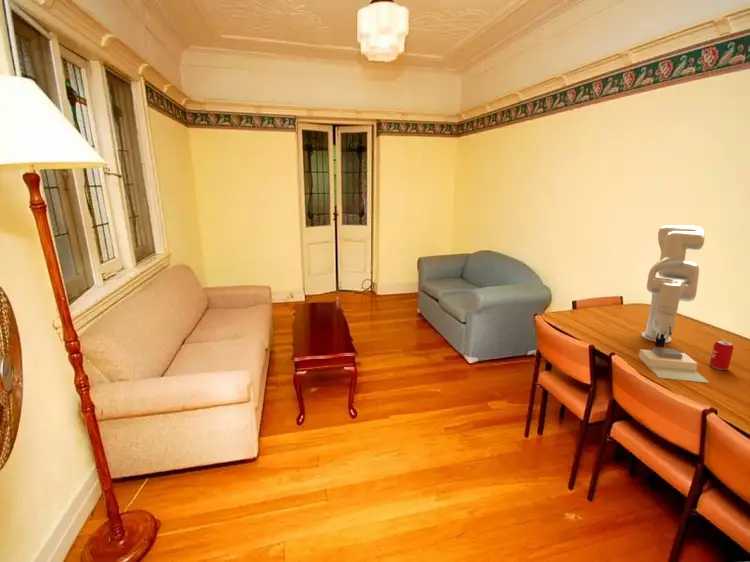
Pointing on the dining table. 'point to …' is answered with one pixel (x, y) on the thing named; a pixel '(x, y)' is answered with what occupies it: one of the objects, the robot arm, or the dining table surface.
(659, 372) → the mat
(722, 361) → the beverage can
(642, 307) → the dining table surface
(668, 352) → the slate coaster
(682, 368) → the block
